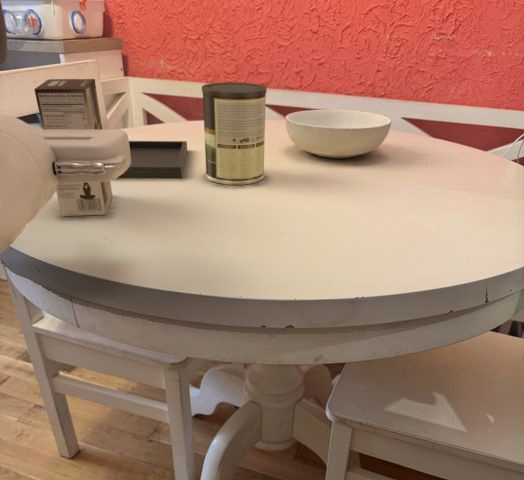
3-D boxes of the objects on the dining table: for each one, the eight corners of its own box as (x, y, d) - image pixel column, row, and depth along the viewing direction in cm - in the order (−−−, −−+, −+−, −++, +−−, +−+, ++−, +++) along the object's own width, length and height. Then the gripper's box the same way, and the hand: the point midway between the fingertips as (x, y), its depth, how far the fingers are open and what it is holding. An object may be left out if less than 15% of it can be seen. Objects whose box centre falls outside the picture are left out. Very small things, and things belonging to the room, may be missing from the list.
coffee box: (70, 196, 77) (46, 78, 67) (113, 195, 78) (95, 78, 68) (60, 217, 69) (32, 87, 60) (108, 215, 70) (87, 87, 61)
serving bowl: (356, 139, 114) (360, 106, 110) (405, 163, 97) (412, 125, 94) (270, 144, 108) (271, 109, 104) (307, 170, 92) (310, 130, 88)
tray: (77, 177, 85) (75, 166, 84) (99, 150, 101) (98, 140, 100) (181, 178, 86) (181, 167, 85) (187, 150, 102) (186, 141, 101)
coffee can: (193, 177, 86) (188, 86, 78) (230, 165, 93) (229, 80, 85) (240, 189, 81) (240, 93, 73) (275, 175, 88) (279, 86, 80)
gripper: (115, 133, 44) (136, 106, 55) (-130, 131, 42) (-57, 104, 54) (125, 204, 47) (143, 165, 59) (-101, 205, 46) (-38, 165, 57)
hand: (46, 136), depth 56 cm, fingers open, 8 cm apart
